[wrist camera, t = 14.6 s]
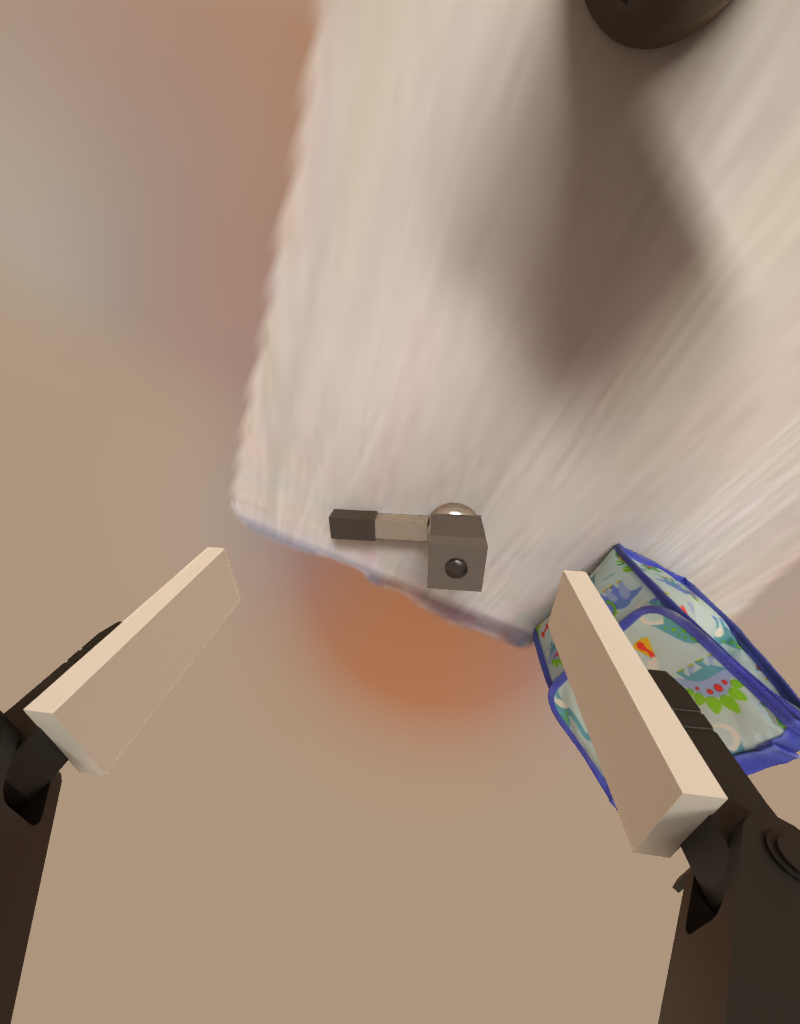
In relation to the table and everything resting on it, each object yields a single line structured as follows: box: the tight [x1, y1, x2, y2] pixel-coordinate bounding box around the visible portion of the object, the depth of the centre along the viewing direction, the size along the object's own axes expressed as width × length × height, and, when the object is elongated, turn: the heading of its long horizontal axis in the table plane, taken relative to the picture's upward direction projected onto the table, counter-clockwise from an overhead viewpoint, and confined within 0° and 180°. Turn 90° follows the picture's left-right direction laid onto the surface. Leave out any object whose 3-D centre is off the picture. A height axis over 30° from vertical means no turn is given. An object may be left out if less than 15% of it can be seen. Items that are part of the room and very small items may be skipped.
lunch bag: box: [533, 544, 800, 810], centre depth 43 cm, size 22×17×26 cm
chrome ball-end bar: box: [329, 503, 476, 545], centre depth 48 cm, size 8×23×8 cm, turn 90°
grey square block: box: [428, 513, 488, 592], centre depth 44 cm, size 7×7×8 cm
